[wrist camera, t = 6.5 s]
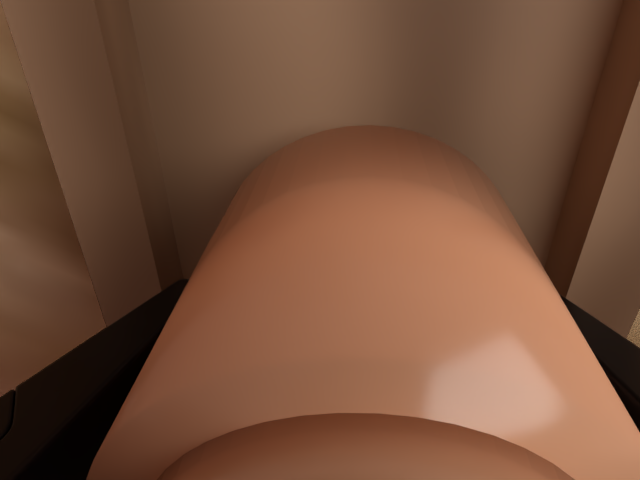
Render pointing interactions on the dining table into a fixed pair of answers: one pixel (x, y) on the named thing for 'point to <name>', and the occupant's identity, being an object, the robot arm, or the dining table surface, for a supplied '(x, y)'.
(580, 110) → the lane
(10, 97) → the dining table surface
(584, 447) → the jar
